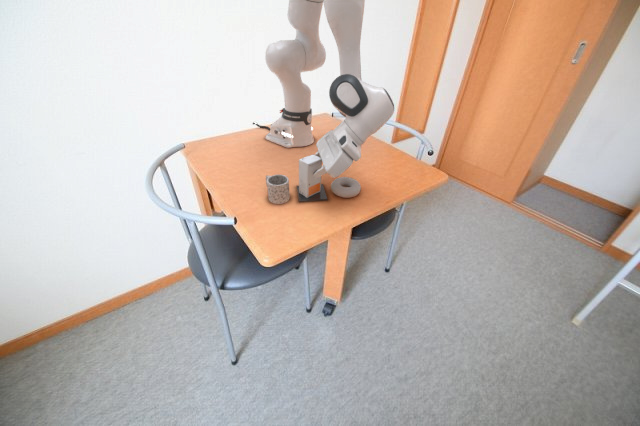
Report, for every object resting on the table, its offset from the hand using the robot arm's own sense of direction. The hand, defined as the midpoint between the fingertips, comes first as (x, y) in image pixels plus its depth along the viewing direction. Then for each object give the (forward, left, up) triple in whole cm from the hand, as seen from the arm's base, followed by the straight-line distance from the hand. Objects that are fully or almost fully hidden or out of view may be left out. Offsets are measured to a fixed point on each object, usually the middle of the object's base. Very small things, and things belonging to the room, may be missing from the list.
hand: (313, 170), depth 84 cm
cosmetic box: (-1, -1, -8) cm, 8 cm away
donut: (+9, +7, -9) cm, 14 cm away
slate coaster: (0, 0, -9) cm, 9 cm away
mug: (-9, -7, -9) cm, 15 cm away
